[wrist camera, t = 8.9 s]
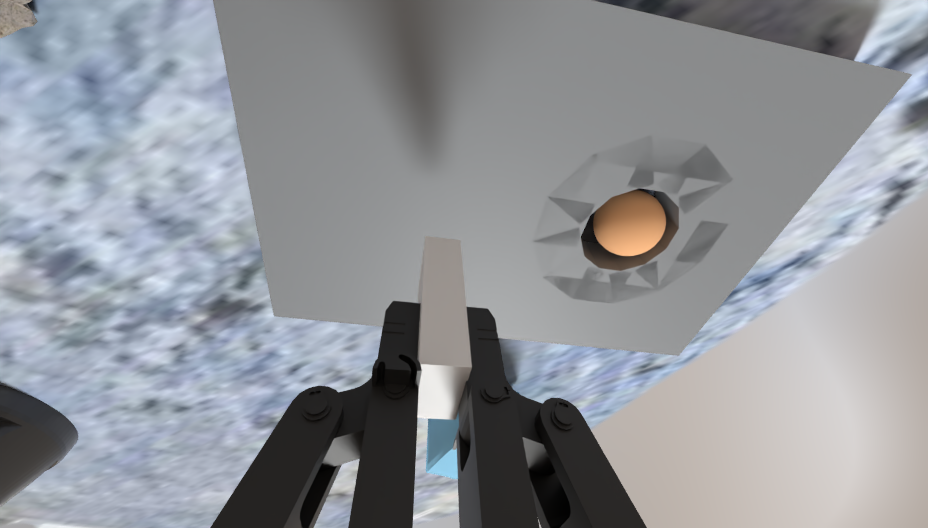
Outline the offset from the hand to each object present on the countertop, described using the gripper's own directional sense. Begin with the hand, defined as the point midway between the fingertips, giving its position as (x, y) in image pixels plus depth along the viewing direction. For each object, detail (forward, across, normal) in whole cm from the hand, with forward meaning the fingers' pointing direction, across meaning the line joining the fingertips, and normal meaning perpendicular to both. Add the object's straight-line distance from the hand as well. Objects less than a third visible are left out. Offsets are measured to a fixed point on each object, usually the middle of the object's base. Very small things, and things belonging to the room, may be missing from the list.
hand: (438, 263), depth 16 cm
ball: (+6, +12, 0) cm, 13 cm away
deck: (+8, +5, 0) cm, 9 cm away
